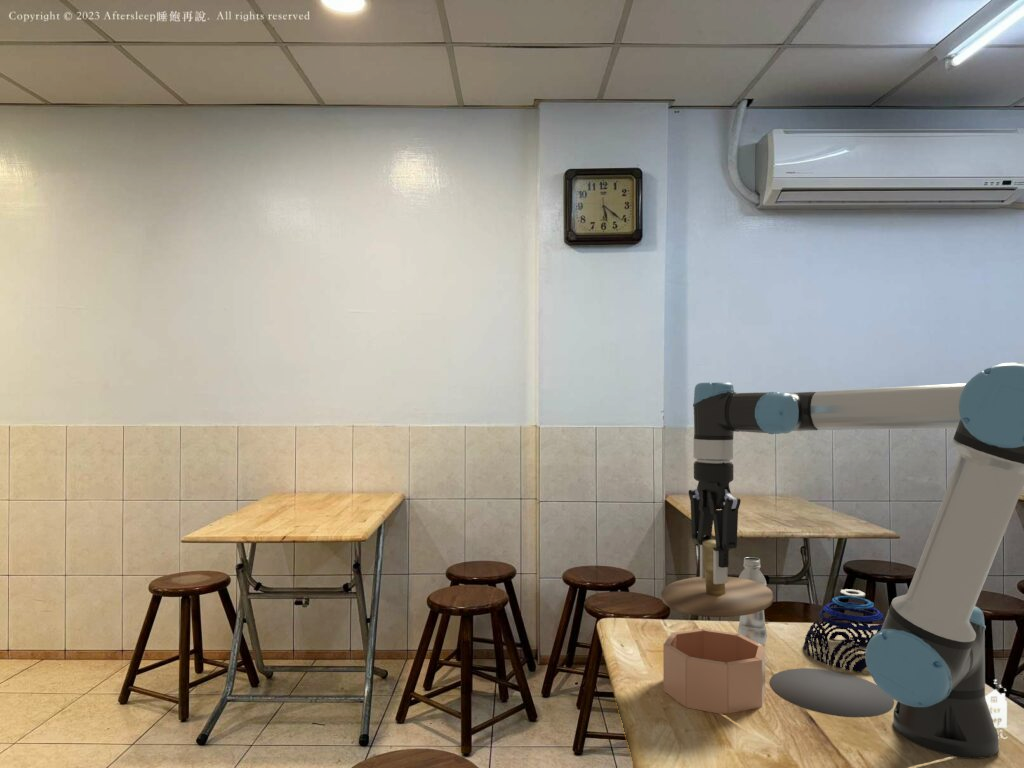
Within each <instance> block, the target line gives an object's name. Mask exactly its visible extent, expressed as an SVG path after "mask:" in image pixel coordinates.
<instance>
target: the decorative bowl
mask: <svg viewBox="0 0 1024 768" xmlns="http://www.w3.org/2000/svg"><path fill="white" fill-rule="evenodd" d="M839 592H840V594H842V595H839V596H836V597H832V599H831V602H829V603H826V605H824V606H823V608H822V609H820V611H818V614H819V618H820V619H821V622H819V620H817V619H816V620H815V621H814V622H812V624H811V625H810V627H809V629H808V631H807V632H806V634H805V639H804V642H803V649H804V651H806V652H807V655H808V656H809V657H810V656H811V657H812V659H815V657H816V661H817V662H820V663H823V664H825V665H829V666H830V667H834V668H837V669H843V668H844V670H845V671H850V670H851V669H850V668H852V672H860V673H861V672H863V671H864V670H865V669H866V668H867V665H866V660H865V652H866V649H862V648H867V645H868V643H869V641H870V639H871V638H872V636H873V635H874V634H875V633H874V631H876V633H877V632H879V631H880V630H881V628H882V626H883V623H884V621H885V618H884V614H883V613H882V612H881V611H880V610H879V609H877V608H875V603H874V602H873V601H871V600H869V599H866V598H863V597H866V593H865V592H863V591H861V590H859V589H857V590H856V589H851V588H850V589H848V588H845V589H840V590H839ZM841 599H848V600H849V599H851V600H858V601H863V602H865V603H866V604H865V603H856V602H849V601H848V602H843V601H840V600H841ZM833 606H835V607H833ZM865 609H867V610H865ZM868 610H870V611H868ZM840 611H849V612H853V613H858V614H864V615H861V616H860V615H854V614H846V613H842V612H840ZM871 611H873V612H871ZM875 612H876V613H875ZM825 613H826V614H828V617H826V616H825V615H824V614H825ZM876 621H882V623H879V624H875V625H874V624H871V625H869V624H868V623H867V622H876ZM837 630H845V631H837ZM846 631H847V632H846ZM861 631H862V632H861ZM855 633H856V634H855ZM868 633H869V634H868ZM849 634H850V635H849ZM856 635H857V636H856ZM863 635H864V636H863ZM838 636H841V637H842V638H844V640H841V641H840V642H839V643H838V644H837V645H836V646H835V647H833V649H832V652H830V645H829V640H834V639H836V638H837V637H838ZM817 641H818V642H817ZM822 641H823V642H822ZM817 643H818V645H817ZM809 644H810V645H809ZM848 644H851V646H850V645H849V646H848V647H846V646H847V645H848ZM818 647H819V650H818ZM843 647H845V648H844V649H843V650H841V649H842V648H843ZM823 648H824V649H823ZM860 648H861V649H860ZM814 650H815V651H814ZM852 650H853V651H852ZM818 651H819V652H818ZM825 651H826V653H825ZM840 651H842V652H840ZM839 652H840V654H839ZM858 652H864V653H858ZM856 653H857V654H856ZM829 654H830V655H829ZM838 654H839V656H837V655H838ZM847 654H848V655H847ZM853 654H854V655H853ZM824 656H825V660H824ZM836 656H837V657H838V658H837V659H836ZM851 656H853V657H851ZM850 657H851V658H850ZM862 657H864V658H862ZM848 658H850V659H848ZM857 659H859V660H857ZM856 660H857V661H856ZM841 661H842V662H841ZM853 662H854V664H853V666H852V663H853ZM850 666H852V667H850Z"/></svg>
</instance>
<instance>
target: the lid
mask: <svg viewBox="0 0 1024 768" xmlns="http://www.w3.org/2000/svg"><path fill="white" fill-rule="evenodd" d="M702 544H703V556H704V569H705V579H702V578H700V576H695V577H694V576H693V577H689V578H684V579H680V580H676V581H674V582H671V583H669V584H667V585H665V586H664V587H663V588H662V590H661V593H660V594H661V595H660V596H661V601H662V603H663V604H664V605H665V606H666V607H668V608H670V609H672V610H674V611H677V612H678V613H679V612H680V613H683V614H687V615H692V616H698V617H709V618H733V617H740V616H743V615H749V614H753V613H757V612H760V611H762V610H764V611H765V610H766V609H768V608H769V607H770V606H772V604H773V603H774V593H773V591H772V589H770V587H768V586H767V585H766V586H765V585H763V584H761V583H758V582H755V581H752V580H748V579H743V578H739V577H734V576H727V583H724V584H714V583H713V550H714V549H713V548H715V547H716V540H715V539H711V540H705V541H703V542H702Z"/></svg>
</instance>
